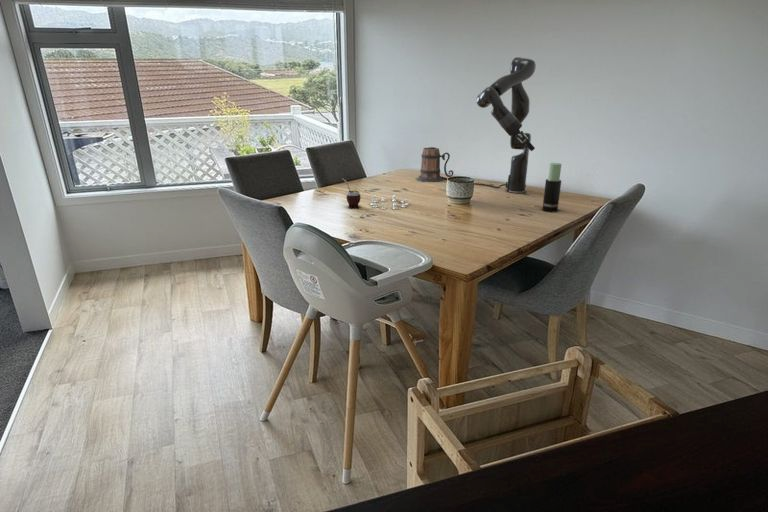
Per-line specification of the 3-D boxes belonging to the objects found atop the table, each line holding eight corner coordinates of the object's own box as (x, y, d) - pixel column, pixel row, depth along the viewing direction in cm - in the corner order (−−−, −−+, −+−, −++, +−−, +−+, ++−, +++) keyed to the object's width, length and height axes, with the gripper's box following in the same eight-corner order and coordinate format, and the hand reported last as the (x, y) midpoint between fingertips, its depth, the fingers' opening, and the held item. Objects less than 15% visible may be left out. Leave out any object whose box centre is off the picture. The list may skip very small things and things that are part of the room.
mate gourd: (363, 207, 241) (363, 177, 235) (352, 210, 235) (351, 179, 230) (353, 204, 245) (352, 175, 240) (342, 207, 240) (341, 177, 235)
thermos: (539, 210, 235) (543, 180, 230) (545, 207, 241) (548, 178, 236) (554, 212, 231) (558, 182, 226) (559, 209, 237) (563, 179, 231)
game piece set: (384, 198, 259) (384, 191, 258) (415, 203, 248) (415, 196, 247) (362, 205, 244) (362, 198, 243) (394, 211, 233) (394, 203, 232)
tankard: (414, 180, 304) (414, 149, 297) (420, 176, 319) (421, 146, 312) (450, 183, 297) (452, 151, 290) (455, 178, 312) (456, 147, 305)
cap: (546, 180, 230) (548, 163, 228) (550, 178, 234) (552, 162, 231) (557, 181, 227) (559, 164, 225) (560, 180, 231) (563, 163, 228)
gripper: (517, 118, 217) (540, 145, 220) (514, 116, 230) (536, 141, 233) (504, 130, 220) (527, 156, 222) (502, 127, 233) (524, 151, 235)
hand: (532, 148), depth 227 cm, fingers open, 8 cm apart
